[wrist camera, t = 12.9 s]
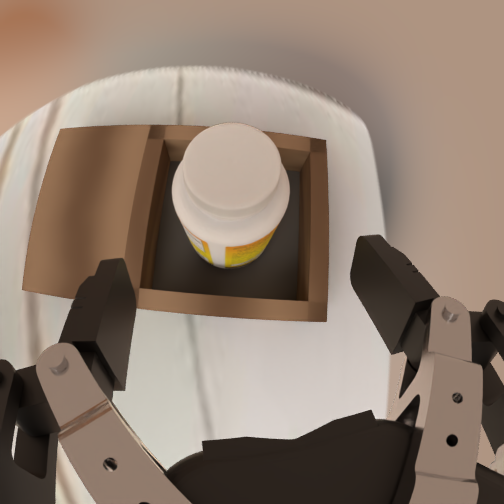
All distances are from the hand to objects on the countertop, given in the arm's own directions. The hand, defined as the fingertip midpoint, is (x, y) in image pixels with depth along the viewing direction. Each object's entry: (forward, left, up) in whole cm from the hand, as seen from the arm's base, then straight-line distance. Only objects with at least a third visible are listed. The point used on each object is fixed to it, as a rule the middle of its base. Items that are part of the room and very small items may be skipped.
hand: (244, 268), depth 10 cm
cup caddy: (-5, +4, -11) cm, 13 cm away
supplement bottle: (-1, +4, -11) cm, 12 cm away
